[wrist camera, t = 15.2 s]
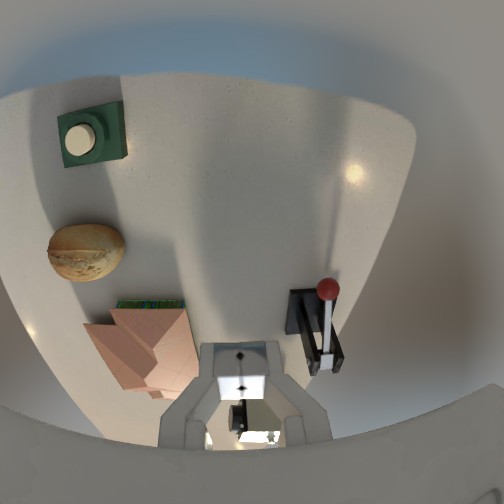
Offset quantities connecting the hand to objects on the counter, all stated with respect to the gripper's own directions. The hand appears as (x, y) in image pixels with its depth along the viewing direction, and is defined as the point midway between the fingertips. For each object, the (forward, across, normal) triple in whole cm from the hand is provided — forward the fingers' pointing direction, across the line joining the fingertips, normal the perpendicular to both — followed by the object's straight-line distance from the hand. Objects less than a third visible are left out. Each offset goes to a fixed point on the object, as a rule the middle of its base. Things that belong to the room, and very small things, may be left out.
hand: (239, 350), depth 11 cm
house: (+31, +20, +41) cm, 55 cm away
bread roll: (+31, +25, +12) cm, 42 cm away
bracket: (+31, -14, +29) cm, 45 cm away
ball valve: (+31, -6, +55) cm, 64 cm away
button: (+27, +20, -6) cm, 34 cm away
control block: (+31, +20, -6) cm, 37 cm away
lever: (+24, -14, +24) cm, 37 cm away
